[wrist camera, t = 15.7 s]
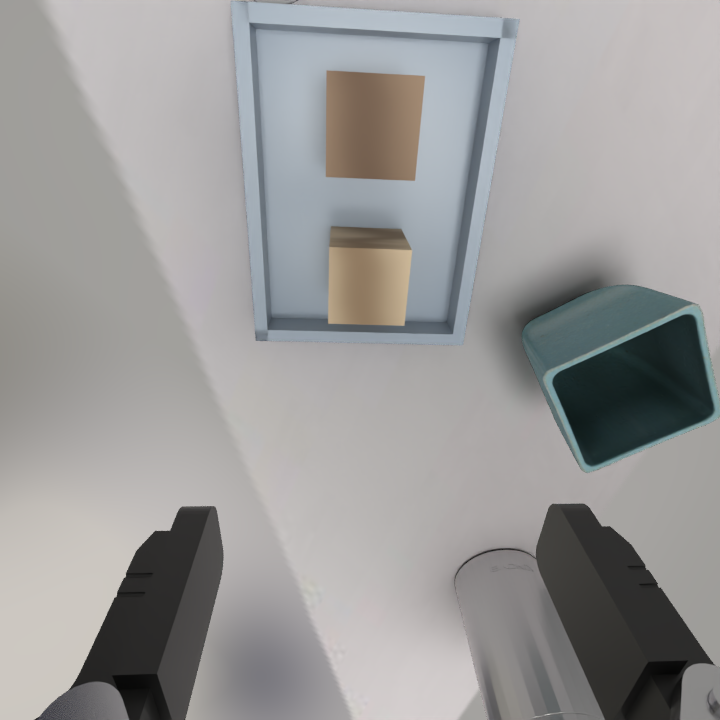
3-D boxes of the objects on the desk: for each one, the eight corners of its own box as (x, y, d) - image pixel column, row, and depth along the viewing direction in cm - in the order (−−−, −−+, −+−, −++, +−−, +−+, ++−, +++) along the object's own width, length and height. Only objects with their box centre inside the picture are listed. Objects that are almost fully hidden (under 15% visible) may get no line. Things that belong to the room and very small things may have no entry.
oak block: (401, 228, 29) (412, 250, 24) (395, 295, 31) (404, 325, 27) (330, 226, 29) (329, 247, 24) (329, 293, 31) (328, 323, 26)
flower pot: (611, 253, 31) (702, 300, 23) (639, 350, 35) (725, 419, 27) (493, 312, 33) (541, 375, 25) (532, 398, 37) (584, 476, 29)
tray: (453, 326, 33) (462, 345, 31) (262, 322, 33) (255, 340, 30) (500, 28, 25) (519, 19, 22) (242, 12, 24) (230, 0, 21)
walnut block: (410, 81, 25) (425, 76, 21) (402, 169, 27) (415, 181, 23) (328, 77, 25) (326, 70, 20) (327, 166, 27) (325, 177, 23)
